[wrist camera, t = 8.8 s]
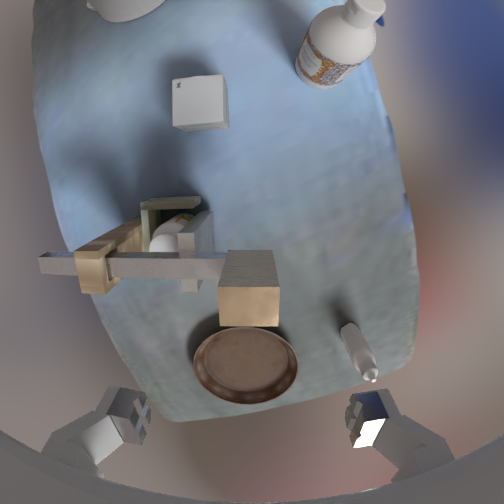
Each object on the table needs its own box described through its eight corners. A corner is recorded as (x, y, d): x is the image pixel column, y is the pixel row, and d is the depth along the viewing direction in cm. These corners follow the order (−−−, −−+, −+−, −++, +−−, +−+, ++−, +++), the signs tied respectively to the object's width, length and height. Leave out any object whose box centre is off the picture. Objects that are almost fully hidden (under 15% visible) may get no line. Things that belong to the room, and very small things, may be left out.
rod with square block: (92, 215, 38) (-7, 260, 18) (266, 210, 38) (280, 265, 18) (97, 253, 40) (9, 316, 20) (266, 253, 39) (277, 343, 19)
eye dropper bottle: (337, 349, 46) (356, 396, 34) (340, 322, 44) (362, 368, 33) (360, 345, 46) (383, 390, 34) (364, 319, 44) (391, 362, 33)
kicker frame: (134, 198, 38) (69, 222, 22) (200, 195, 38) (163, 218, 22) (141, 263, 41) (88, 316, 25) (203, 264, 41) (175, 324, 25)
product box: (185, 133, 35) (170, 126, 28) (185, 92, 34) (170, 78, 27) (230, 129, 35) (224, 122, 28) (229, 88, 34) (223, 72, 27)
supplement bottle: (169, 249, 40) (146, 274, 31) (165, 213, 39) (139, 229, 30) (205, 248, 40) (190, 273, 31) (201, 211, 39) (185, 226, 30)
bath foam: (285, 56, 32) (311, -24, 13) (328, 43, 31) (378, -31, 12) (308, 96, 34) (357, 40, 15) (350, 82, 33) (422, 29, 14)
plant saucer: (181, 327, 45) (177, 338, 42) (287, 307, 44) (289, 317, 41) (213, 398, 50) (212, 409, 47) (302, 384, 49) (305, 395, 46)
